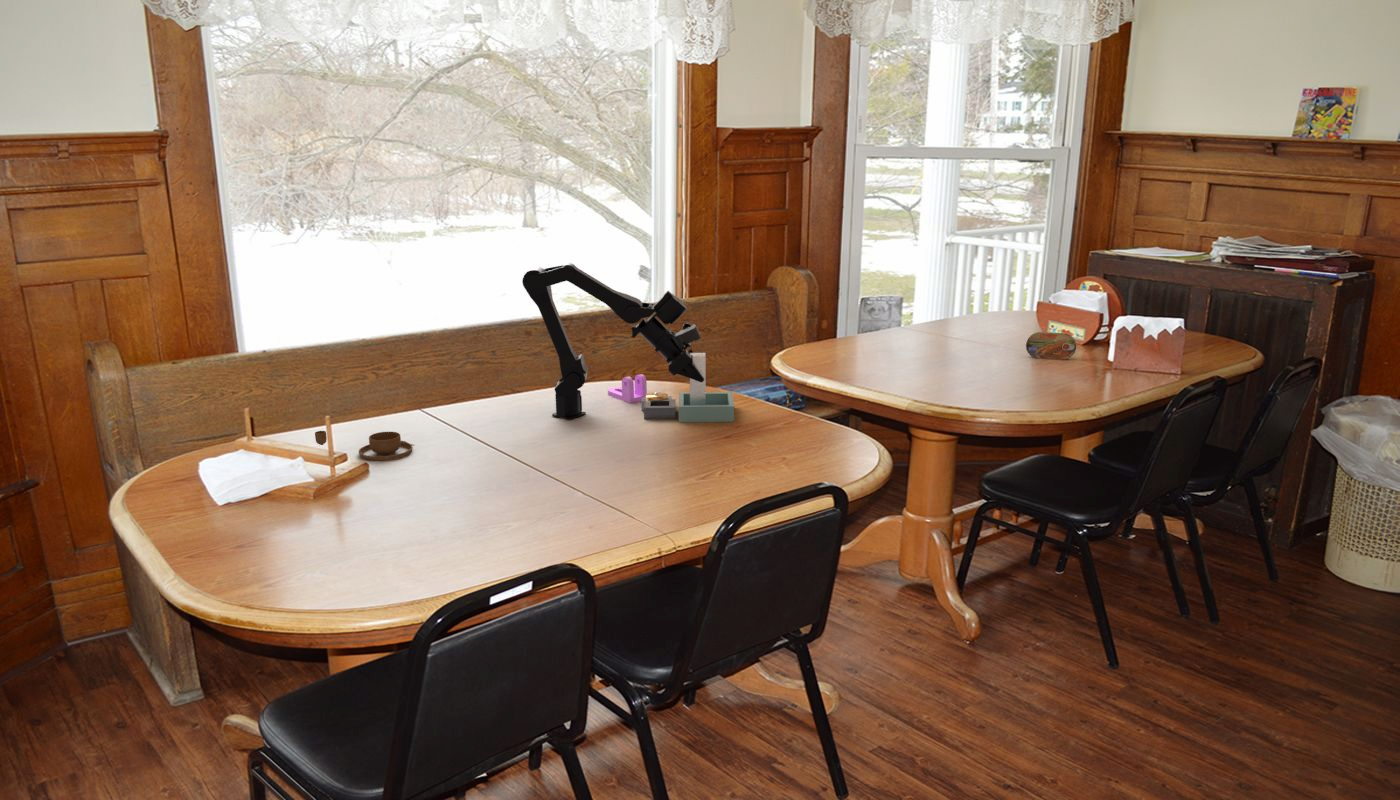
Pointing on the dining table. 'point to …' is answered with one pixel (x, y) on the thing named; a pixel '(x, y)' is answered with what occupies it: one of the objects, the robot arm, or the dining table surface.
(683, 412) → the tray
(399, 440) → the place setting
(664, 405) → the tensioner bracket
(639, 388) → the bracket
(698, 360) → the pin
